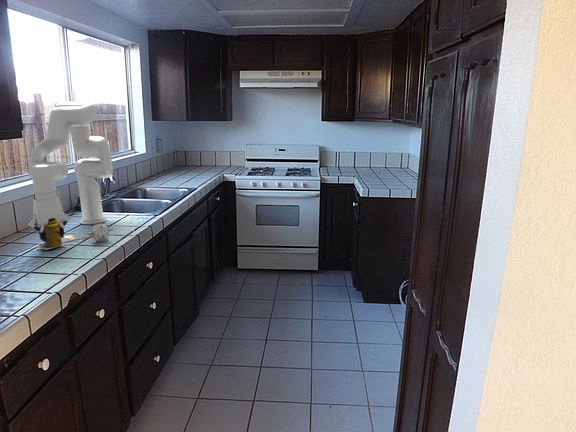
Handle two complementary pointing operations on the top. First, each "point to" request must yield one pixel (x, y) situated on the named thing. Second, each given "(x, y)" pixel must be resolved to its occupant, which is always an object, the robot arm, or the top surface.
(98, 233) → the game die
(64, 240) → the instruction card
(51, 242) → the condiment
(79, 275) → the top surface
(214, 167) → the top surface
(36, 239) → the top surface
